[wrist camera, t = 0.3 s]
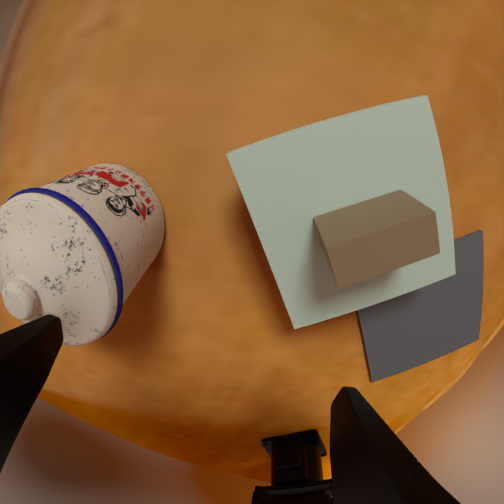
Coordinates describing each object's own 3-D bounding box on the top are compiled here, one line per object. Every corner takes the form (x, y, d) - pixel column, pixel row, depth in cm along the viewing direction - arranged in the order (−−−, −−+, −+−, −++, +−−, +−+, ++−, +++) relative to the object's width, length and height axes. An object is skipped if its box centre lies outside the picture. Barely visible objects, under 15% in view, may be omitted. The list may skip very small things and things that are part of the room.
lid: (449, 268, 18) (487, 307, 13) (293, 321, 20) (299, 375, 15) (420, 95, 14) (469, 93, 9) (228, 152, 16) (213, 166, 11)
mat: (476, 337, 25) (478, 339, 25) (370, 379, 27) (371, 382, 27) (480, 229, 21) (482, 231, 20) (349, 277, 23) (350, 279, 22)
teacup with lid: (184, 180, 20) (104, 252, 10) (155, 290, 24) (94, 403, 13) (45, 138, 19) (-73, 173, 9) (35, 241, 23) (-55, 312, 12)
